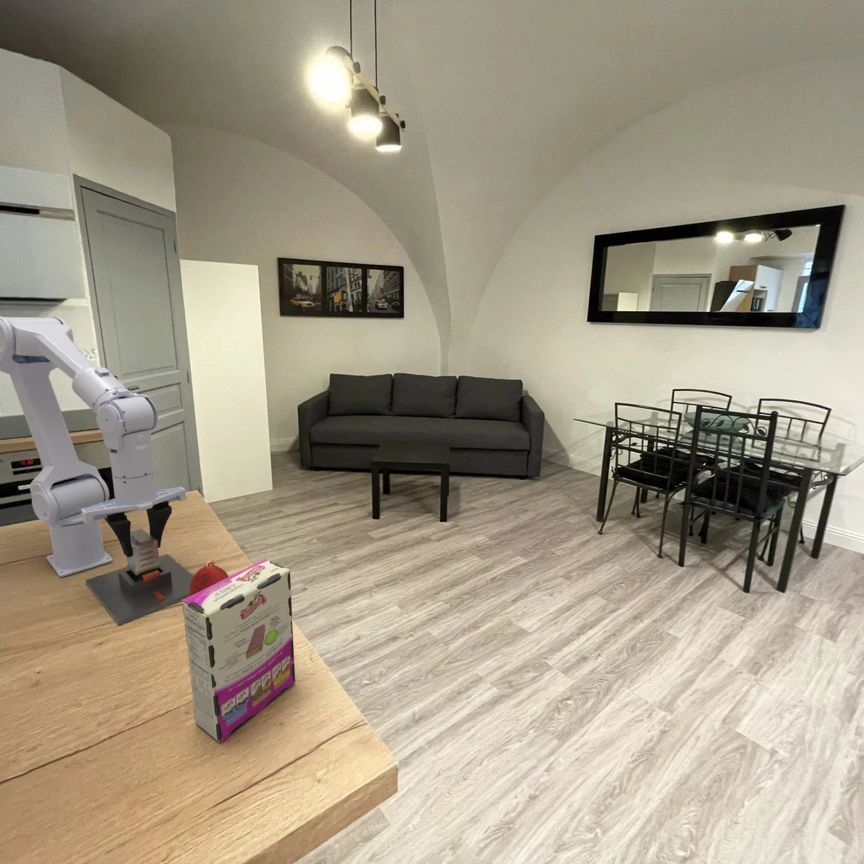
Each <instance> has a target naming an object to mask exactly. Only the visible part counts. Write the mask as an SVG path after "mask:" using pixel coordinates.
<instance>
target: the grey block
mask: <svg viewBox="0 0 864 864" xmlns="http://www.w3.org/2000/svg"><path fill="white" fill-rule="evenodd" d="M130 538H131V545H132V556H131V557H127V556H126V560H127V565H126V567H128V568H129V569H130V570H131V571H132V572H133V573H134V574H135V575H139V574H142V573H145V572H148V571H150V570H153V569H156V568H159V567H161V565H160V562H159V556H160V554H159V548H158V543H157V539H155V538H154V537H153V536H152V535H151V534H150V532H149V533H148V532H146V531H145V530H143V528H139V529H134V530H132V531H131V530H130Z"/></svg>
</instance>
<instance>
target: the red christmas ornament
mask: <svg viewBox="0 0 864 864" xmlns="http://www.w3.org/2000/svg"><path fill="white" fill-rule="evenodd" d="M193 576H194V577H193V578H192V580H191V583H190V595H191V596H192V595H194V594H196V593H198V592H200V591H202V590H204V589H206V588H208V587H210V586H212V585H214V584H216V583H218V582H220V581H222V580H224V579H226V578H228V577H230V576H229V575H228V573H227V572H226V571H225V569H223V568H222V567H220V566H217V565H215V561H213V560H212V559H211V560H208V561H206V563H205V564H204V566H203V567H201V568H200V569H199V570H197V571H196V572H195V574H193Z"/></svg>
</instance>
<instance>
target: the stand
mask: <svg viewBox="0 0 864 864" xmlns="http://www.w3.org/2000/svg"><path fill="white" fill-rule="evenodd" d="M159 562H160V565H161V567H159V568H156V569H153V570H150V571H148V572H145V573H142V574H139V575H135V574H134V573H133V572H132V571H131V570H130V569H129V568H128V567H127V566H125V567H123V568H120V569H116V570H112V571H110V572H106V573H105V574H104V573H103V574H101V575H97V576H94V577H91V578H87V579H86V580H85V585H86V586H87V588H89V589H90V591H91V592H92V593H93V595H94V596H95V597H96V599H98V602H100V604H101V605H102V607H104V609H105V610H106V611H107V613H108V614H109V615H110V617H111V618H112V619H113V620H114V621H115V623H116V624H117V626H122V625H124V624H127V623H129V622H132V621H134V620H137V619H140V618H143V617H145V616H147V615H150V614H153V613H155V612H157V611H160V610H162V609H165V608H167V607H169V606H172V605H175V604H177V603H180V602H182V600H184V599H186V598H188V597H190V596H191V595H190V583H191V580H192V578H193V577H194V574H192V573H191V572H190V571H189V570H187V569H186V568H184V567H183V566H182V565H181V564H180V563H179V562H177V560H175V559H174V558H173V557H172V556H171V555H169V554H168V553H166V554H162V555H159Z"/></svg>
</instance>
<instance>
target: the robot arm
mask: <svg viewBox="0 0 864 864" xmlns="http://www.w3.org/2000/svg"><path fill="white" fill-rule="evenodd" d="M57 368H58V369H59V370H61V372H63V373H64V374H65V375H67V376H68V378H70V379H71V380H72V382H71V389H72V391H73V392H74V393H75V395H76V396H77V397H79V398H80V399H81V401H83V402H84V403H85V404H86V406H88V407H89V408H90V409H91V410H92V411H93V412H94V413H95V415H96V416H95V420H96V424H97V427H98V429H99V431H100V433H101V434H102V437H103V444H104V445H105V448H108V449H109V451H108V452H109V458H110V466H111V475H112V476H111V477H112V483H113V492H114V498H111V499H110V491H109V487H108V485H107V483H106V481H105V480H104V479H103V478H102V476H101V474H100V472H99V470H98V468H97V467H96V466H94V465H92V464H89V463H86V462H84V461H81V460H79V456H78V455H77V452H76V450H75V446H74V444H73V441H72V437H71V435H70V432H69V430H68V427H67V424H66V422H65V421H66V420H65V418H64V416H63V413H62V409H61V407H60V404H59V401H58V399H57V397H56V396H57V395H56V393H55V390H54V388H53V385H52V382H51V378H50V373H51V372H52V371H53V370H55V369H57ZM0 372H3V373H5V374H7V375H9V376H10V379H11V382H12V385H13V387H14V391H15V393H16V396H17V399H18V400H19V401H18V402H19V404H20V407H21V409H22V412H23V414H24V418H25V420H26V423H27V425H28V428H29V431H30V434H31V437H32V440H33V443H34V445H35V448H36V450H37V453H38V456H39V459H40V461H41V464H42V466H43V469H42V470H41V471H40V472H39V474H38V475H36V476H35V477H34V479H33V480H32V481H31V482H30V484H29V491H30V495H31V504H32V508H33V509H32V510H33V512H34V514H35V515H36V517H37V518H38V519H39V520H40V521H41V522H43V523H45V524H47V525H49V526H48V528H49V535H50V537H49V538H50V541H51V548H52V549H51V550H52V554H50V555H47V556H46V559H47V561H48V562H49V564H50V566H51V567H52V568H53V570H54V571H55V572H56V574H57V575H58V576H59V577H60V578H62V577H66V576H70V575H73V574H75V573H76V574H77V573H80V572H83V571H87V570H89V569H92V568H96V567H100V566H102V565H106V564H108V563H112V562H113V558H112V557H111V555H110V554H109V553H107V551H106V550H105V549H104V540H103V534H102V525H101V520H103V519H104V521H105V522H106V523H107V525H109V527H110V528H111V530H112V531H113V532H114V535H115V536H116V539H118V541H119V544H120V546H121V549H122V552H123V554H124V556H125V557H126V558H127V557H131V556H132V545H131V538H130V532H131V528H132V527H131V524H132V522H131V520H129V519H128V516H127V515H126V514H128V513H132V512H136V511H140V512H141V511H146V515H147V519H148V520H147V521H148V525H149V526H148V527H149V534H151V535H152V536H153V537H154V538H155V539H157V543H158V549H160V548H161V544H162V538H163V534H164V530H165V527H166V525H167V523H168V520H169V519H170V516H171V515H172V512H173V508H172V506H171V505H170V503H172V502H177V501H179V502H183V501H186V500H187V494H186V493H187V492H186V491H187V490H186V488H184V487H182V486H177V487H170V488H164V489H157V484H156V476H155V475H156V473H155V463H154V453H153V445H152V444H153V442H152V433H151V432H152V430H154V429H156V427H157V425H158V422H159V414H158V409H157V407H156V405H155V404H154V402H153V401H152V400H151V398H150V396H148V395H145V394H138V393H137V392H131V391H130V390H129V389H128V388H127V387H126V386H125V385H124V384H123V383H122V382H120V381H119V380H118V379H117V378H116V377H115V376H114V375H113V374H112V373H111V372H110V371H109V370H108V369H107V368H106V367H103V366H94V365H93V364H92V363H91V362H90V360H88V358H87V357H86V355H84V353H83V352H82V351H81V349H79V348H78V346H77V344H75V343H74V335H73V329H72V327H71V326H69V324H68V323H67V322H66V321H65V320H64V319H63V318H62V317H58V316H53V317H22V316H21V317H16V316H15V317H10V316H5V317H4V316H1V315H0ZM71 479H74V480H71ZM66 480H67V482H63V481H66ZM68 480H70V481H68ZM59 482H63V483H60V484H56V483H59ZM53 484H56V485H53Z"/></svg>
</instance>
